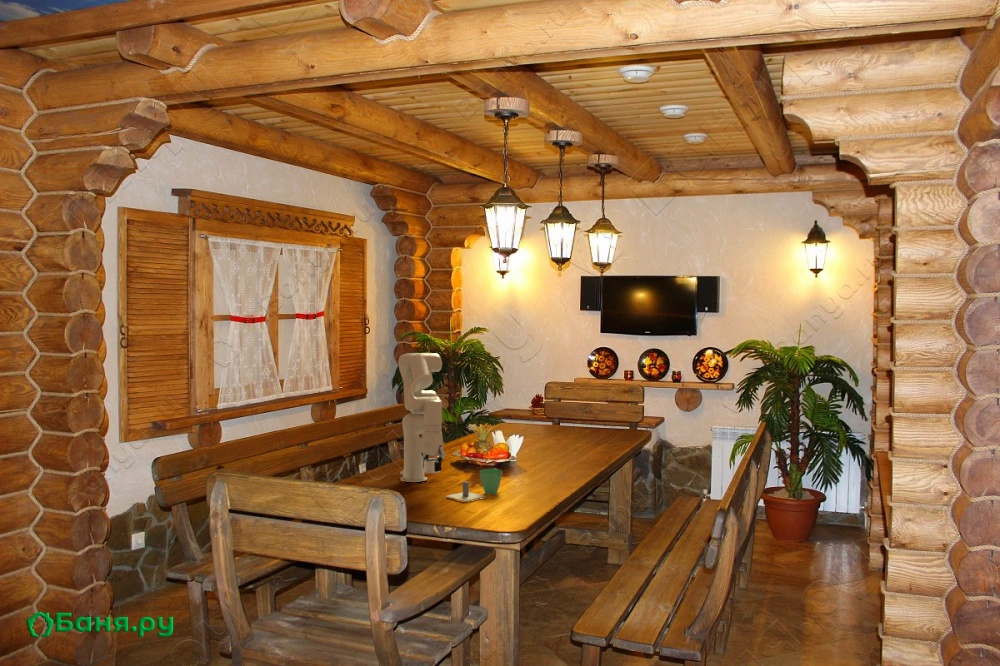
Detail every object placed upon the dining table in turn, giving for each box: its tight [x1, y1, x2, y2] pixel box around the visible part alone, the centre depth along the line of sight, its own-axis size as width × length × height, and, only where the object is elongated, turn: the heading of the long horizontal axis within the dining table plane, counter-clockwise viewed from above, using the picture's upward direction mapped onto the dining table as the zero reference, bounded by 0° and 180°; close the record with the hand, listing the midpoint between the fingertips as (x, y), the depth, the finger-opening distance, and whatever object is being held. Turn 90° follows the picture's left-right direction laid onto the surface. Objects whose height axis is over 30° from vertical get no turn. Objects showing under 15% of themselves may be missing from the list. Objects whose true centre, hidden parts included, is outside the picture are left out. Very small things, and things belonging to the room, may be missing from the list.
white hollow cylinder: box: [424, 457, 441, 474], centre depth 352 cm, size 7×7×5 cm
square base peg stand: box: [445, 481, 486, 502], centre depth 354 cm, size 12×12×7 cm
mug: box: [479, 468, 503, 495], centre depth 365 cm, size 15×10×10 cm
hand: (432, 469), depth 352 cm, fingers closed on white hollow cylinder, 6 cm apart
